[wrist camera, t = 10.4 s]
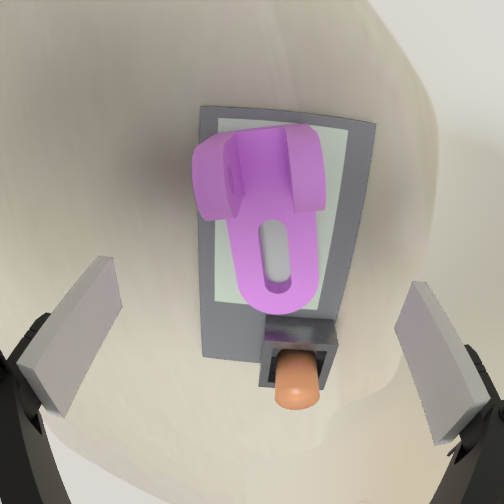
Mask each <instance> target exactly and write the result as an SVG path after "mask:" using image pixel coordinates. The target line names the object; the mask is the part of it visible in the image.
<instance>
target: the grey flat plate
mask: <svg viewBox="0 0 504 504" xmlns="http://www.w3.org/2000/svg"><path fill="white" fill-rule="evenodd" d="M302 123H307V124H308V125H309V126H310V127H311V128H312V129H313V130H315V131H316V132H317V134H318V136H319V139H320V143H321V148H322V154H323V161H324V169H325V181H326V205H325V210H320V211H316V227H317V248H318V275H319V283H318V288H317V291H316V293H315V295H314V297H313V298H312V300H311V301H310V302H309V303H308V304H307V305H305V306H304V307H303V308H301V309H299V310H297V311H295V312H292V313H288V314H280V315H278V314H268V313H264V312H261V311H259V310H257V309H255V308H253V307H252V306H250V305H249V304H248V303H247V302H246V301H245V300H244V298H243V297H242V295H241V294H240V291H239V289H238V284H237V279H236V273H235V268H234V262H233V257H232V251H231V246H230V240H229V235H228V229H227V223H226V219H223V220H214V221H205V220H204V219H203V218H202V216H201V215H200V212H199V210H198V244H199V287H200V315H201V336H202V355H203V357H208V358H216V359H224V360H234V361H243V362H254V363H260V359H261V351H262V343H263V334H264V325H265V317H266V315H276V316H289V317H303V318H318V319H333V320H334V324H335V323H336V319H337V316H338V312H339V308H340V305H341V301H342V297H343V293H344V289H345V285H346V281H347V277H348V273H349V269H350V265H351V260H352V256H353V252H354V247H355V243H356V238H357V233H358V229H359V224H360V219H361V214H362V209H363V203H364V198H365V193H366V187H367V181H368V175H369V169H370V163H371V157H372V150H373V143H374V136H375V129H376V124H374V123H369V122H363V121H358V120H352V119H345V118H339V117H332V116H325V115H317V114H309V113H301V112H291V111H281V110H269V109H255V108H237V107H203V106H201V107H200V125H199V144H201V143H202V142H204V141H205V140H207V139H208V138H210V137H211V136H213V135H214V134H216V133H222V132H229V131H236V130H244V129H252V128H260V127H269V126H279V125H290V124H302ZM259 230H260V238H261V245H262V253H263V260H264V268H265V275H266V277H267V278H268V279H269V280H270V281H271V282H274V283H282V282H285V281H286V280H287V279H288V278H289V277H290V275H291V269H290V257H289V246H288V235H287V229H286V227H285V225H284V224H283V223H282V222H280V221H278V220H274V219H271V220H267V221H265V222H263V223H262V224H261V225H260V226H259ZM280 350H282V349H280V348H273V351H272V357H276V356H277V354H278V352H279V351H280ZM316 352H317V351H314V353H315V355H316Z"/></svg>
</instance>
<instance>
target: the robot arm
mask: <svg viewBox="0 0 504 504" xmlns="http://www.w3.org/2000/svg"><path fill="white" fill-rule="evenodd" d="M121 309H122V302H121V298H120V293H119V288H118V283H117V278H116V272H115V267H114V261H113V257H105V256H98V257H97V258H96V259H95V260H94V261H93V262H92V264H91V265H90V266H89V267H88V268H87V270H86V271H85V272H84V273H83V274H82V276H81V277H80V278H79V279H78V280H77V282H76V283H75V284H74V285H73V287H72V288H71V289H70V290H69V292H68V293H67V294H66V295H65V297H64V298H63V299H62V300H61V302H60V303H59V304H58V306H57V307H56V308H55V309H54V311H53V312H52V313H45V314H43V315H42V316H40V317H39V318H38V319H36V320H35V322H34V323H33V324H32V326H31V327H30V328H29V330H28V331H27V332H26V334H25V335H24V338H22V339H21V341H20V342H19V343H18V345H17V346H16V348H15V349H14V350H13V352H12V353H11V355H10V356H9V358H8V359H7V360H6V359H5V357H4V356H3V354H2V352H1V350H0V498H1V502H2V504H71V502H70V499H69V497H68V495H67V492H66V490H65V487H64V485H63V482H62V480H61V477H60V474H59V471H58V469H57V466H56V463H55V460H54V457H53V454H52V451H51V448H50V445H49V442H48V438H47V435H46V432H45V428H44V424H43V420H42V417H41V414H40V412H39V408H40V406H41V404H42V405H43V406H44V408H45V409H46V411H47V412H48V413H50V414H53V415H55V416H58V417H61V418H65V416H66V414H67V412H68V410H69V407H70V405H71V403H72V401H73V399H74V397H75V395H76V393H77V391H78V389H79V387H80V385H81V383H82V381H83V379H84V377H85V375H86V373H87V371H88V369H89V367H90V365H91V363H92V361H93V360H94V358H95V356H96V354H97V352H98V350H99V348H100V346H101V345H102V343H103V341H104V339H105V337H106V335H107V334H108V332H109V330H110V328H111V326H112V325H113V323H114V321H115V319H116V317H117V316H118V314H119V312H120V310H121ZM394 329H395V332H396V334H397V337H398V339H399V342H400V345H401V347H402V350H403V352H404V355H405V358H406V360H407V363H408V366H409V368H410V371H411V374H412V376H413V380H414V383H415V385H416V388H417V391H418V394H419V397H420V400H421V403H422V406H423V409H424V412H425V415H426V419H427V422H428V425H429V428H430V432H431V435H432V438H433V442H434V445H435V446H436V445H441V444H446V443H450V442H451V441H453V440H454V439H455V438H456V437H457V435H458V434H459V435H460V438H461V441H460V442H459V443H458V444H457V445H456V446H455V447H454V448H453V449H452V450H451V451H450V452H449V453H448V455H447V456H450V455H451V454H452V453H453V452H454V454H453V457H452V459H451V461H450V463H449V466H448V468H447V470H446V472H445V474H444V476H443V478H442V481H441V483H440V485H439V487H438V489H437V491H436V493H435V494H434V496H433V498H432V500H431V502H430V504H504V400H501V399H500V397H499V395H498V393H497V391H496V389H495V387H494V385H493V383H492V381H491V379H490V377H489V375H488V373H487V372H486V369H485V367H484V365H482V362H481V360H480V358H479V356H478V354H477V353H476V352H475V351H474V350H473V349H472V348H471V347H470V346H469V345H463V343H462V341H461V339H460V337H459V336H458V334H457V332H456V330H455V328H454V327H453V325H452V323H451V321H450V320H449V318H448V316H447V315H446V313H445V312H444V310H443V308H442V306H441V305H440V303H439V301H438V300H437V298H436V297H435V295H434V293H433V292H432V290H431V289H430V287H429V285H428V284H427V282H416V281H412V284H411V286H410V289H409V292H408V294H407V297H406V300H405V302H404V305H403V307H402V310H401V313H400V315H399V317H398V320H397V322H396V325H395V327H394Z"/></svg>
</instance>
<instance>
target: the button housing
mask: <svg viewBox="0 0 504 504" xmlns="http://www.w3.org/2000/svg"><path fill="white" fill-rule="evenodd" d="M273 348H280V349H295V350H313V351H317V352H316V363H317V373H318V383H319V390H323V389H324V386H325V383H326V381H327V378H328V375H329V372H330V369H331V366H332V363H333V360H334V357H335V354H336V351H337V348H338V339H337V334H336V329H335V324H334V320H333V319H318V318H303V317H289V316H276V315H266V317H265V325H264V334H263V343H262V351H261V359H260V372H259V385H258V387H270V388H275V380H276V357H272V351H273Z"/></svg>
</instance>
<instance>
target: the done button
mask: <svg viewBox="0 0 504 504" xmlns="http://www.w3.org/2000/svg"><path fill="white" fill-rule="evenodd" d="M319 397H320V394H319V383H318V373H317V363H316V355H315V353H314V351H313V350H295V349H282V350H280V351H279V352H278V354H277V356H276V380H275V401H276V403H277V404H278V405H279V406H281V407H283V408H286V409H290V410H301V409H306V408H309V407H311V406H313V405H314V404H316V403H317V401H318V400H319Z"/></svg>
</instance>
